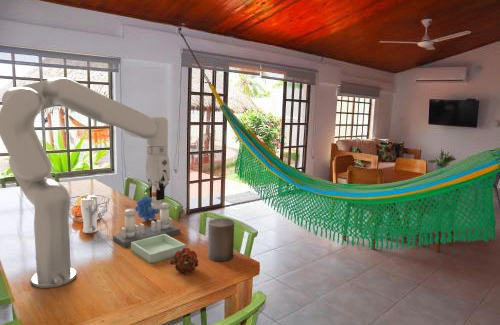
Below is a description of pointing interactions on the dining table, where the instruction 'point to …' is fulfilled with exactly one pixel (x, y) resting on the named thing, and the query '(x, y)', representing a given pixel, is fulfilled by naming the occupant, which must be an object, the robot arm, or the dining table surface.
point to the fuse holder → (145, 233)
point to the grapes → (146, 209)
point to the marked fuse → (155, 203)
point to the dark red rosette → (185, 260)
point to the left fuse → (130, 223)
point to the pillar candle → (221, 239)
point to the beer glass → (89, 213)
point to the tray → (156, 248)
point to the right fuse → (164, 216)
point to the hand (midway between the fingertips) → (156, 197)
